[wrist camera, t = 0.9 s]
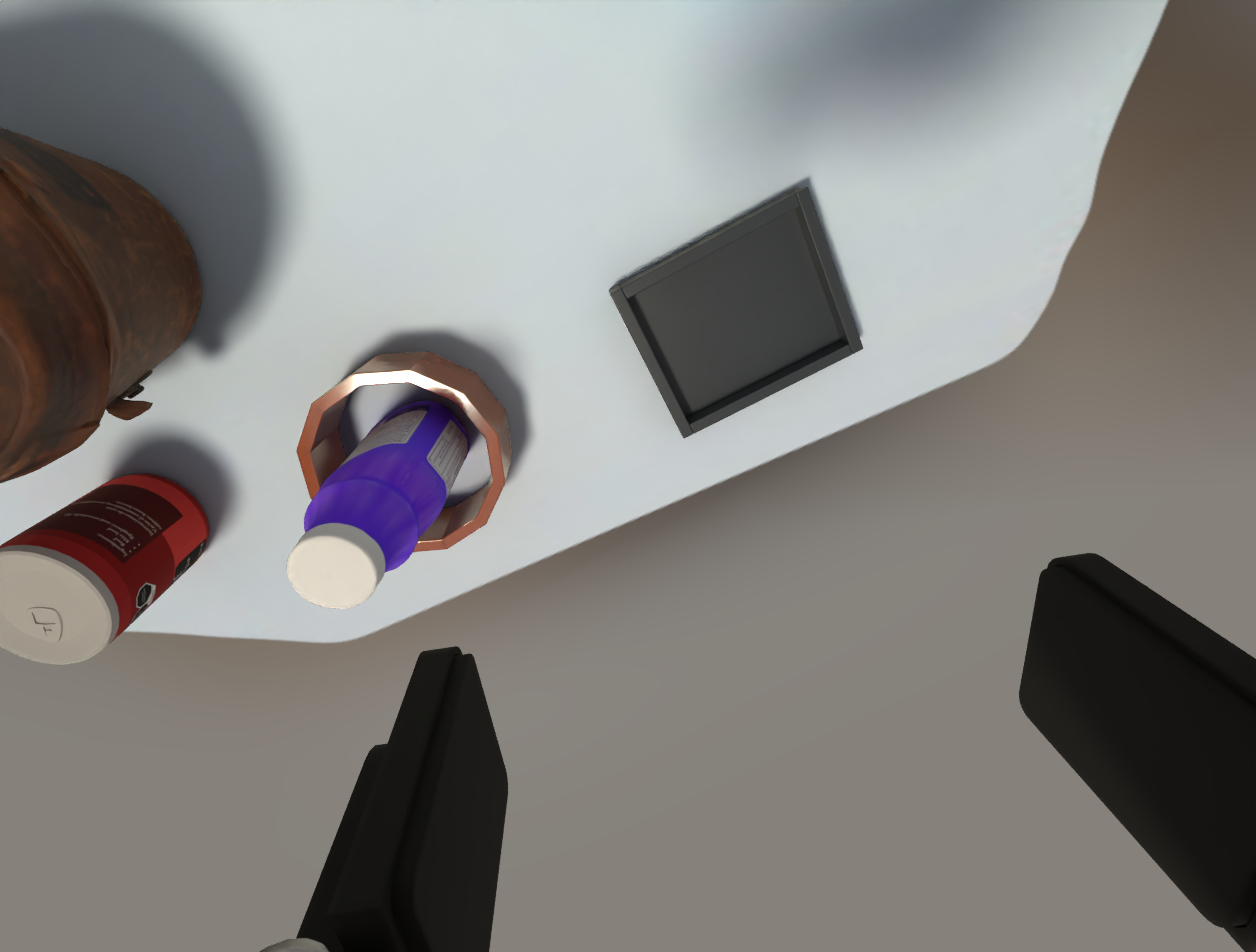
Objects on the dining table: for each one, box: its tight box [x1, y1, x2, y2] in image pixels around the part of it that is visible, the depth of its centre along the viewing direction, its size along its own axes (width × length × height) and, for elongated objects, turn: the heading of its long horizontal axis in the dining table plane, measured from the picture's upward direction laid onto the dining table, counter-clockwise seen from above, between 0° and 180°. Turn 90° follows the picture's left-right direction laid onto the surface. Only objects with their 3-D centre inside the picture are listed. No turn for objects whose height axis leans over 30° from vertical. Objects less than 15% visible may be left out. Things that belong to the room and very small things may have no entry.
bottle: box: [287, 400, 469, 609], centre depth 36 cm, size 7×6×17 cm
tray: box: [609, 187, 863, 438], centre depth 41 cm, size 14×11×2 cm
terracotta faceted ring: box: [297, 351, 512, 552], centre depth 42 cm, size 13×13×5 cm
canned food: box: [0, 474, 209, 664], centre depth 40 cm, size 8×8×11 cm
